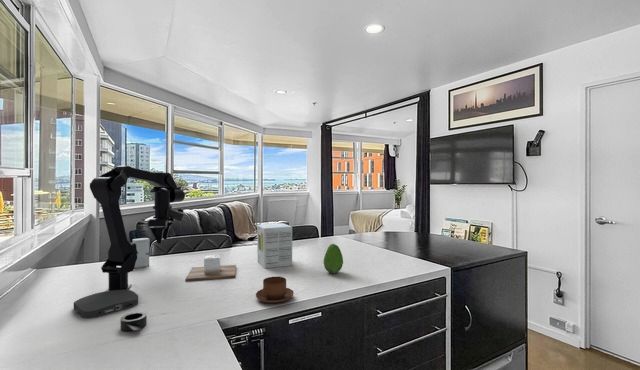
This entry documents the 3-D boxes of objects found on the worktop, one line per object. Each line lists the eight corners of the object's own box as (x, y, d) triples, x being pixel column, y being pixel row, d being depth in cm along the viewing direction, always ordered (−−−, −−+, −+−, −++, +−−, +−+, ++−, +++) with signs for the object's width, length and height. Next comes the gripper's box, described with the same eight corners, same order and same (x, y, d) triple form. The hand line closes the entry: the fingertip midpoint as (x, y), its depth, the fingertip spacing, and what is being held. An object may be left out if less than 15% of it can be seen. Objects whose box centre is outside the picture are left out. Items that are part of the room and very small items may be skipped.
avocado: (335, 277, 123) (335, 246, 123) (320, 273, 128) (319, 244, 128) (346, 272, 129) (346, 243, 129) (331, 269, 134) (331, 241, 134)
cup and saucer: (287, 308, 93) (286, 287, 93) (249, 304, 96) (249, 284, 96) (298, 293, 105) (297, 275, 105) (264, 291, 107) (264, 273, 107)
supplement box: (256, 261, 147) (256, 224, 147) (283, 258, 152) (283, 222, 152) (264, 268, 135) (263, 228, 135) (293, 265, 140) (292, 226, 140)
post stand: (235, 277, 122) (235, 265, 122) (185, 281, 118) (185, 268, 118) (235, 267, 138) (235, 255, 137) (192, 269, 133) (192, 258, 133)
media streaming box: (124, 294, 105) (124, 285, 105) (142, 305, 96) (142, 295, 96) (70, 308, 94) (70, 298, 94) (84, 322, 84) (84, 311, 84)
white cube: (219, 272, 125) (219, 257, 125) (204, 273, 124) (204, 258, 124) (220, 268, 131) (220, 254, 131) (205, 269, 130) (205, 255, 130)
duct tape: (157, 318, 86) (157, 308, 86) (140, 336, 76) (140, 324, 76) (128, 319, 86) (128, 309, 86) (106, 337, 76) (106, 325, 76)
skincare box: (134, 268, 136) (134, 240, 135) (131, 266, 139) (131, 239, 139) (150, 265, 140) (149, 238, 140) (147, 263, 143) (147, 237, 143)
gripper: (179, 204, 121) (179, 244, 121) (187, 201, 139) (187, 236, 140) (147, 205, 119) (147, 246, 119) (159, 202, 137) (160, 237, 137)
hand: (162, 241), depth 129 cm, fingers open, 9 cm apart
